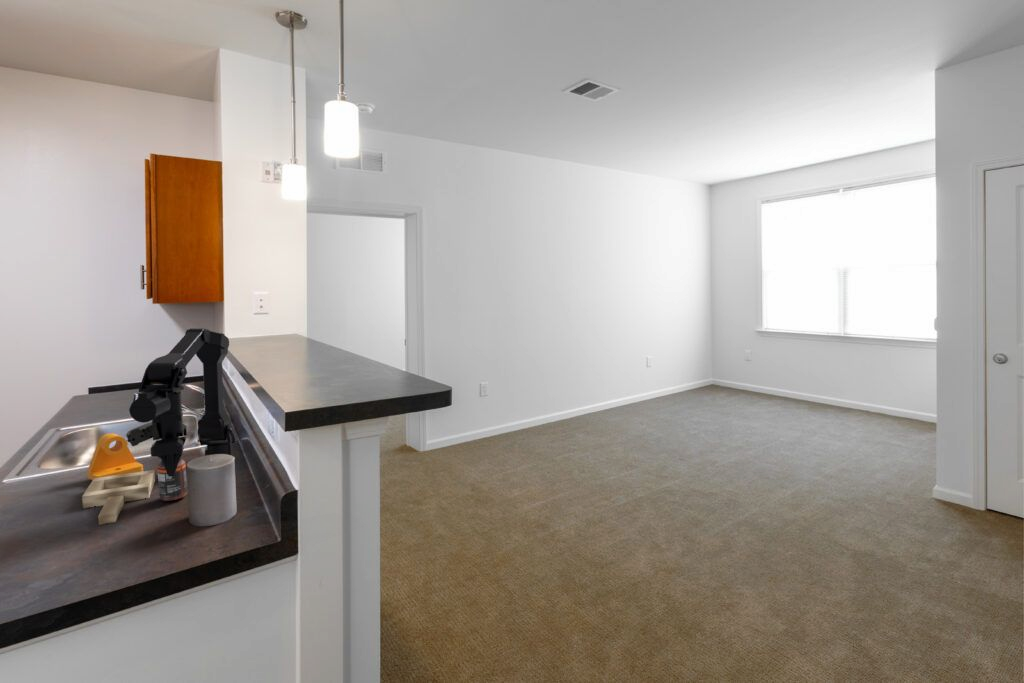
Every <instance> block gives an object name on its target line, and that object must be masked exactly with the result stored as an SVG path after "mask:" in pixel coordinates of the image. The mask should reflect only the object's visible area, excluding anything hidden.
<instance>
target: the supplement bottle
mask: <svg viewBox="0 0 1024 683" xmlns="http://www.w3.org/2000/svg"><path fill="white" fill-rule="evenodd" d="M160 460H161V462H159V463H158V464H157V470H156V471H157V479H158V482H157V483H158V492H159V500H161V501H164V502H168V501H169V502H170V501H175V500H179V499H182V498H183V497H185V496H187V495H188V484H187V463H186V461H185V459H183V458H180V460H179V463H178V466H177V468H176V471H175V474H174V476H170V477H169V476H168V474H167V471H166V469H165V466H164V464H163V461H162V459H161V458H160Z"/></svg>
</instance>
